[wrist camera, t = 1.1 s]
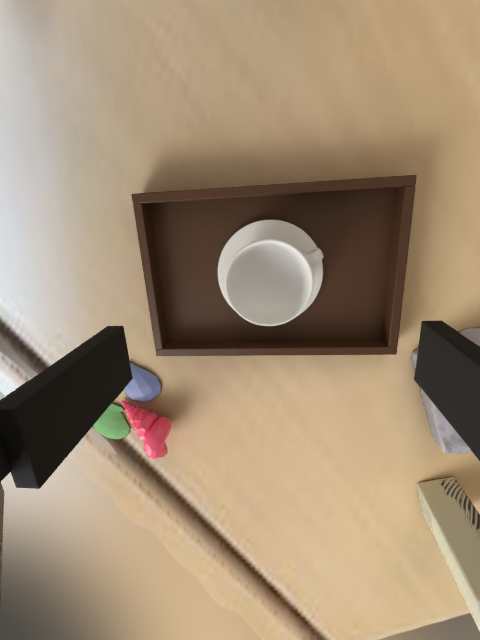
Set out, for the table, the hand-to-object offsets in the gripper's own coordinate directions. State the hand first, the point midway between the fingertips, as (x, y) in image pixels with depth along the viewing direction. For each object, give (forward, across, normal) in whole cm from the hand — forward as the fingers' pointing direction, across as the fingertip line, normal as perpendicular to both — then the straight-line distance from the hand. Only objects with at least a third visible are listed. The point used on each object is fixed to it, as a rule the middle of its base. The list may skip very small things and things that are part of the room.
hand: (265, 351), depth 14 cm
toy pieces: (+18, -17, -15) cm, 29 cm away
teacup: (+18, 0, 0) cm, 18 cm away
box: (+18, +19, -27) cm, 38 cm away
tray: (+18, 0, 0) cm, 18 cm away
